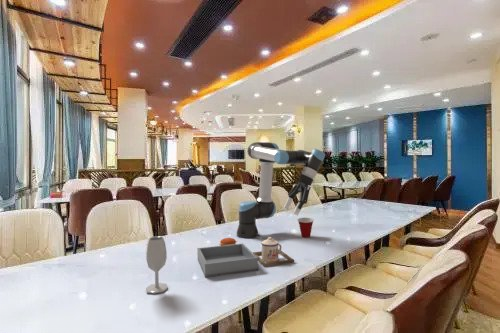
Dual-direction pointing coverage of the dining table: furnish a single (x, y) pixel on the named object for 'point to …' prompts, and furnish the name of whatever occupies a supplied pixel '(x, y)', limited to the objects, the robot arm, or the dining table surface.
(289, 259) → the brown wooden frame
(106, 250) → the dining table surface
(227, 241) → the hamburger
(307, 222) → the plastic cup
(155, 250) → the wineglass
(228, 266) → the bus tub
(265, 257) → the teacup with lid
